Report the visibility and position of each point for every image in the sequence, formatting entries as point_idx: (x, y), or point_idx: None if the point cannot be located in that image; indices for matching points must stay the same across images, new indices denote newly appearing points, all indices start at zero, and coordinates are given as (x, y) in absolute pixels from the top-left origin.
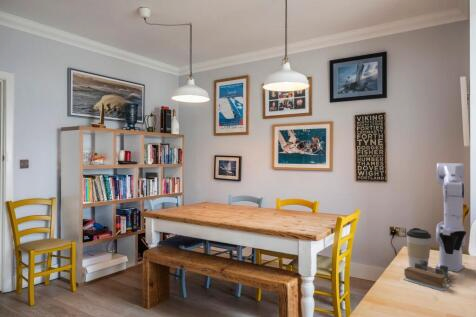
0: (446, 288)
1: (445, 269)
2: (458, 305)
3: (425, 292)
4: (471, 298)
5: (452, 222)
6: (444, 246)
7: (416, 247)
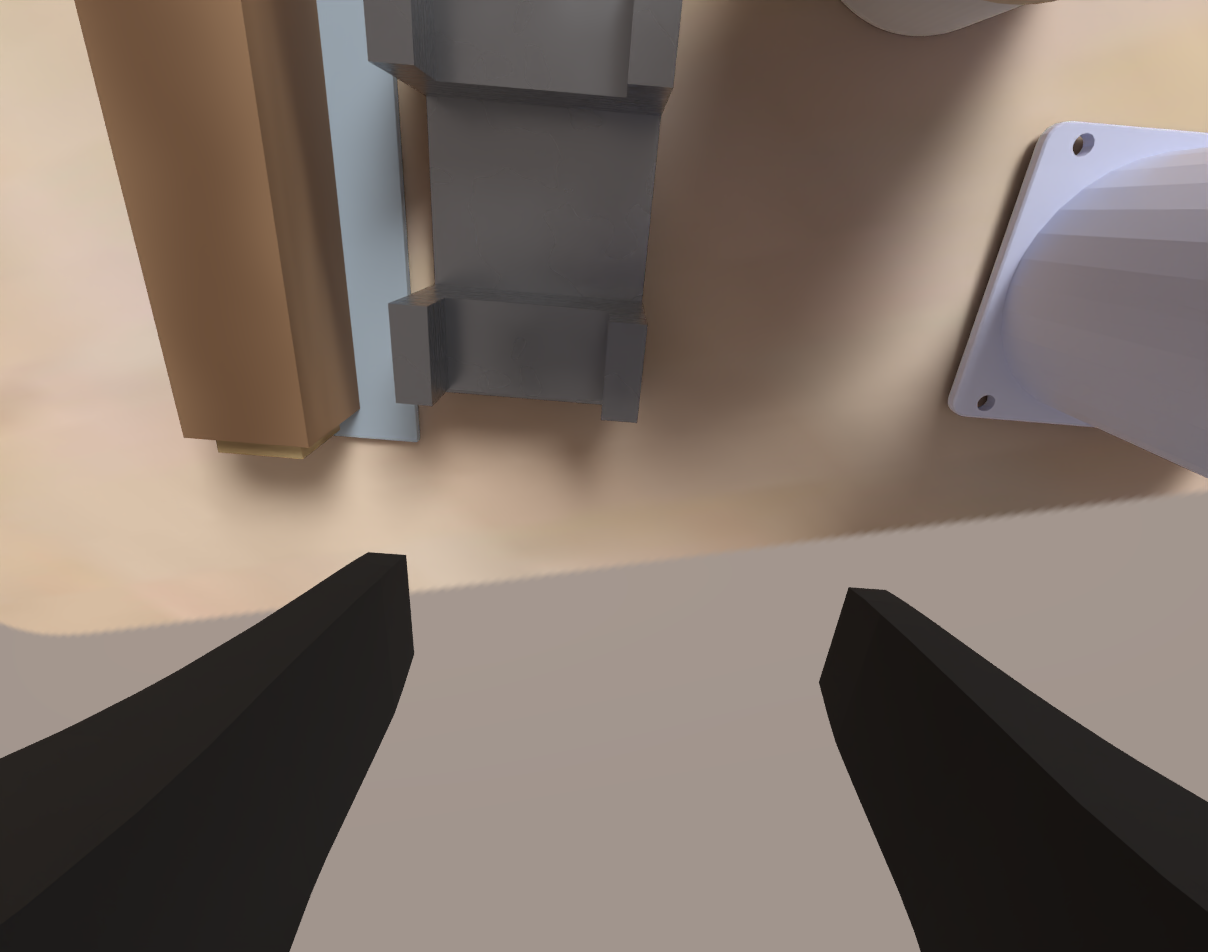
0: None
1: (603, 384)
2: (47, 567)
3: (12, 302)
4: None
5: None
6: (236, 647)
7: None
